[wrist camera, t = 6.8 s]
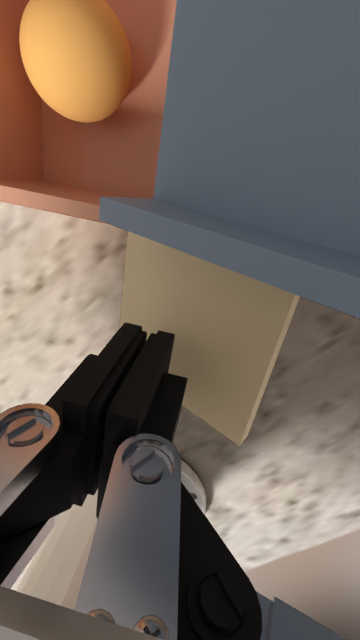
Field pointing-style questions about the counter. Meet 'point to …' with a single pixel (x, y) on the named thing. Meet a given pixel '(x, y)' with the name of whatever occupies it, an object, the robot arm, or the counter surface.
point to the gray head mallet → (247, 194)
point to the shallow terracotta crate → (80, 137)
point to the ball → (76, 56)
